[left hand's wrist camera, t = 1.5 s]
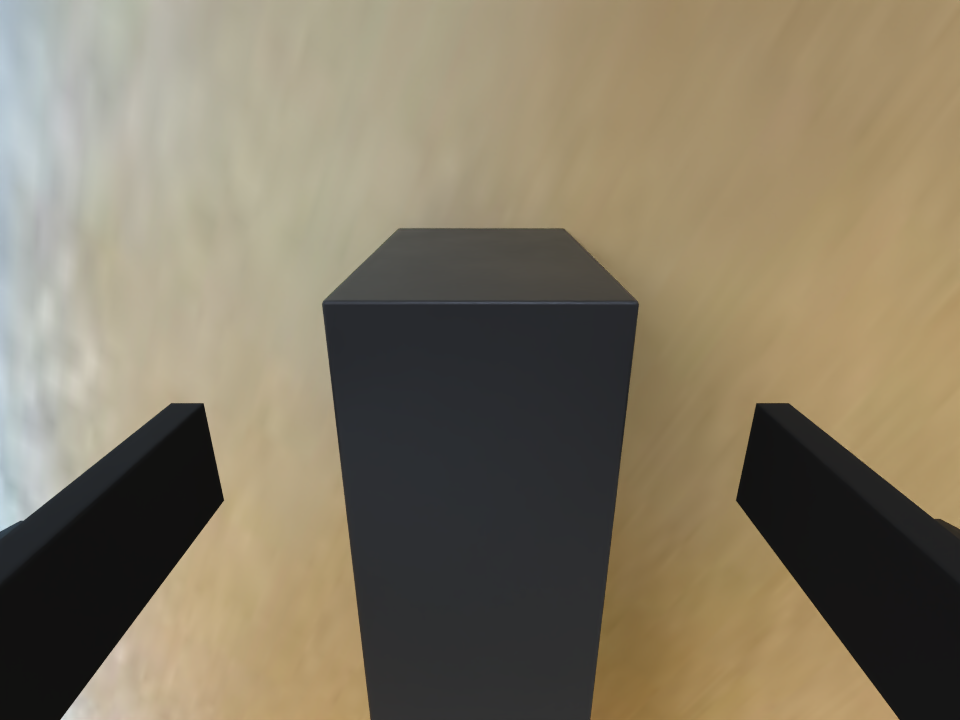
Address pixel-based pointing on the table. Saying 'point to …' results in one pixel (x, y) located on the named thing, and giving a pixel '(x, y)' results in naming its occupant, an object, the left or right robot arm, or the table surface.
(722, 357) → the table surface
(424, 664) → the bar
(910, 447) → the table surface
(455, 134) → the table surface
